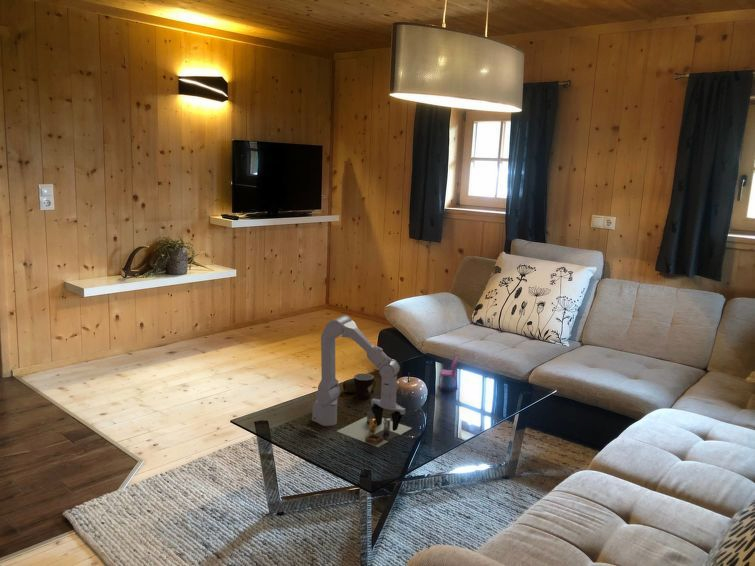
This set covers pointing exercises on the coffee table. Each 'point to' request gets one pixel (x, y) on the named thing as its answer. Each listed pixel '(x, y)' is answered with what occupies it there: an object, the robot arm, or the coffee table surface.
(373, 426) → the lever
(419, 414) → the coffee table surface
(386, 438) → the rubber pad
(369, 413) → the cylinder
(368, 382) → the coffee mug
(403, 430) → the board
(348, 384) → the stone weight
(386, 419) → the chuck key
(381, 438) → the frame
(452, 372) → the toy chair
